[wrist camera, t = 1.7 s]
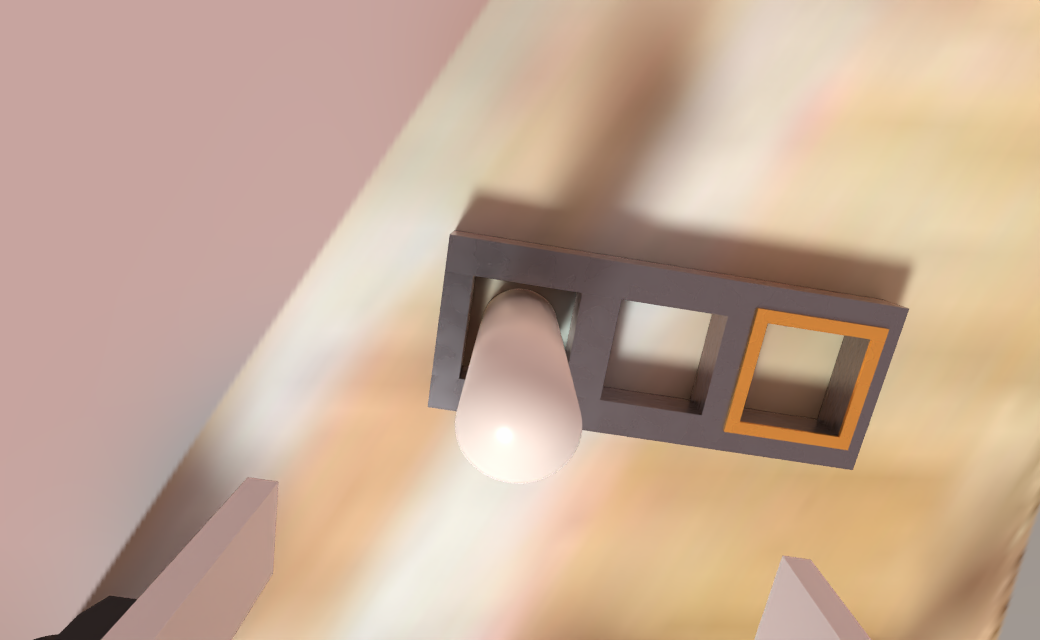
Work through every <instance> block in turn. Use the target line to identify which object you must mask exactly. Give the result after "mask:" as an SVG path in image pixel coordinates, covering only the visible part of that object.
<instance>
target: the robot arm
mask: <svg viewBox="0 0 1040 640" xmlns="http://www.w3.org/2000/svg"><path fill="white" fill-rule="evenodd" d="M277 498H278V482H277V481H270V480H263V479H256V478H249V477H248V478H247V479H246V480H245V481H244V482H243V483H242V484H241V485H240V487H239V488H238V489H237V490H236V491H235V492H234V493H233V494H232V495H231V496H230V498H229V499H228V500H227V501H226V502H225V503H224V504H223V505H222V506H221V508H220V509H219V510H218V511H217V512H216V513H215V514H214V515H213V516H212V518H211V519H210V520H209V521H208V522H207V523H206V524H205V525H204V526H203V527H202V529H201V530H200V531H199V532H198V533H197V534H196V535H195V536H194V537H193V539H192V540H191V541H190V542H189V543H188V544H187V545H186V546H185V547H184V548H183V550H182V551H181V552H180V553H179V554H178V555H177V556H176V557H175V558H174V560H173V561H172V562H171V563H170V564H169V565H168V566H167V567H166V568H165V569H164V571H163V572H162V573H161V574H160V575H159V576H158V577H157V578H156V579H155V581H154V582H153V583H152V584H151V585H150V586H149V587H148V588H147V589H146V590H145V592H144V593H143V594H142V595H141V596H140V597H139V598H138V599H129V598H122V597H115V596H109V597H107V598H105V599H104V600H102V601H100V602H99V603H97V604H96V605H94V606H92V607H91V608H89V609H87V610H86V611H84V612H82V613H81V614H79V615H78V616H77V617H76V618H75V619H74V620H73V621H72V622H71V623H70V624H69V625H68V626H67V627H66V628H65V629H64V630H63V631H62V632H61V633H60V634H58V635H51V636H45V637H41V638H37V639H34V640H232V638H233V637H234V635H235V634H236V632H237V630H238V629H239V627H240V626H241V624H242V622H243V621H244V619H245V617H246V616H247V614H248V613H249V611H250V609H251V608H252V606H253V605H254V603H255V601H256V600H257V598H258V597H259V595H260V593H261V592H262V590H263V589H264V587H265V585H266V584H267V582H268V581H269V579H270V577H271V576H272V574H273V563H274V547H275V531H276V514H277ZM754 640H871V639H870V637H869V636H868V635H867V633H866V632H865V631H864V629H863V628H862V627H861V626H860V624H859V623H858V622H857V620H856V619H855V618H854V616H853V615H852V614H851V612H850V611H849V610H848V608H847V607H846V606H845V604H844V603H843V602H842V600H841V599H840V598H839V596H838V595H837V594H836V592H835V591H834V590H833V588H832V587H831V586H830V584H829V583H828V582H827V581H826V579H825V578H824V577H823V575H822V574H821V573H820V571H819V570H818V569H817V567H816V566H815V565H814V563H813V562H812V561H811V560H809V559H802V558H796V557H789V556H782V559H781V562H780V565H779V568H778V571H777V574H776V577H775V580H774V583H773V586H772V589H771V591H770V594H769V597H768V600H767V603H766V606H765V609H764V612H763V615H762V618H761V621H760V624H759V627H758V630H757V633H756V636H755V639H754Z"/></svg>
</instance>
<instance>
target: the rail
mask: <svg viewBox="0 0 1040 640" xmlns="http://www.w3.org/2000/svg"><path fill="white" fill-rule="evenodd" d="M476 276H478V277H484V278H491V279H497V280H503V281H510V282H516V283H522V284H528V285H535V286H541V287H547V288H554V289H560V290H566V291H573V292H577V294H576V299H575V304H574V309H573V315H572V320H571V325H570V330H569V335H568V341H567V346H566V351H565V353H566V357H567V360H568V364H569V368H570V372H571V376H572V380H573V384H574V388H575V392H576V396H577V400H578V404H579V408H580V412H581V417H582V430H587V431H593V432H600V433H607V434H614V435H620V436H627V437H634V438H641V439H647V440H654V441H661V442H668V443H674V444H681V445H688V446H695V447H701V448H708V449H715V450H721V451H728V452H735V453H742V454H748V455H755V456H762V457H769V458H775V459H782V460H789V461H796V462H802V463H809V464H816V465H823V466H829V467H836V468H843V469H850V470H853V468H854V465H855V462H856V459H857V456H858V453H859V451H860V448H861V445H862V442H863V439H864V436H865V433H866V431H867V428H868V425H869V422H870V419H871V416H872V413H873V411H874V408H875V405H876V402H877V399H878V396H879V393H880V391H881V388H882V385H883V382H884V379H885V376H886V373H887V371H888V368H889V365H890V362H891V359H892V356H893V353H894V351H895V348H896V345H897V342H898V339H899V336H900V333H901V331H902V328H903V325H904V322H905V319H906V316H907V313H908V311H909V308H906V307H903V306H900V305H897V304H894V303H891V302H888V301H885V300H881V299H875V298H869V297H863V296H857V295H851V294H844V293H838V292H832V291H826V290H820V289H814V288H807V287H801V286H795V285H789V284H783V283H776V282H770V281H764V280H758V279H752V278H746V277H739V276H733V275H727V274H721V273H715V272H709V271H702V270H696V269H690V268H684V267H678V266H672V265H665V264H659V263H653V262H647V261H641V260H634V259H628V258H622V257H616V256H610V255H604V254H597V253H591V252H585V251H579V250H573V249H567V248H560V247H554V246H548V245H542V244H536V243H530V242H523V241H517V240H511V239H505V238H499V237H492V236H486V235H480V234H474V233H468V232H462V231H453V232H452V233H451V234H450V237H449V245H448V253H447V261H446V268H445V276H444V284H443V292H442V300H441V307H440V315H439V323H438V331H437V339H436V346H435V354H434V362H433V370H432V378H431V385H430V393H429V401H428V407H432V408H438V409H445V410H452V411H457V408H458V405H459V401H460V397H461V394H462V390H463V386H464V383H465V379H466V375H467V372H468V368H469V366H463V361H464V354H465V347H466V340H467V333H468V326H469V319H470V312H471V305H472V298H473V291H474V284H475V277H476ZM622 299H623V300H629V301H636V302H642V303H648V304H654V305H661V306H667V307H673V308H680V309H686V310H692V311H698V312H705V313H711V314H712V316H711V320H710V324H709V328H708V332H707V336H706V340H705V344H704V348H703V351H702V355H701V359H700V363H699V367H698V371H697V375H696V379H695V382H694V386H693V390H692V394H691V398H690V400H687V399H681V398H674V397H668V396H661V395H654V394H648V393H641V392H635V391H628V390H622V389H615V388H608V387H603V384H604V380H605V375H606V370H607V365H608V361H609V356H610V351H611V347H612V342H613V337H614V333H615V328H616V323H617V319H618V314H619V309H620V304H621V300H622ZM768 323H770V324H776V325H783V326H789V327H795V328H802V329H808V330H814V331H821V332H827V333H833V334H839V335H845V336H844V339H843V342H842V345H841V348H840V351H839V355H838V358H837V361H836V364H835V367H834V370H833V373H832V376H831V379H830V382H829V385H828V388H827V392H826V395H825V398H824V401H823V404H822V407H821V410H820V413H819V416H818V419H812V418H806V417H799V416H793V415H786V414H780V413H773V412H766V411H760V410H753V409H747V408H744V405H745V402H746V398H747V394H748V391H749V387H750V384H751V380H752V377H753V373H754V370H755V366H756V363H757V359H758V356H759V352H760V349H761V345H762V342H763V338H764V335H765V331H766V328H767V324H768Z"/></svg>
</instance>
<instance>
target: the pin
mask: <svg viewBox="0 0 1040 640" xmlns="http://www.w3.org/2000/svg"><path fill="white" fill-rule="evenodd" d="M455 433H456V437H457V441H458V444H459V447H460V449H461V451H462V453H463V454H464V456H465V457H466V458H467V460H468V461H469V462H470V463H471V464H472V465H473V466H474V467H475V468H476V469H477V470H479V471H480V472H482V473H483V474H485V475H486V476H489V477H491V478H493V479H496V480H499V481H502V482H507V483H516V484H518V483H530V482H535V481H539V480H542V479H544V478H547V477H549V476H551V475H552V474H554V473H556V472H557V471H559V470H560V469H561V468H562V467H563V466H564V465H566V464H567V463H568V461H569V460H570V459H571V458H572V456H573V454H574V453H575V451H576V449H577V447H578V445H579V442H580V438H581V433H582V417H581V412H580V408H579V404H578V400H577V396H576V392H575V388H574V384H573V380H572V376H571V372H570V368H569V364H568V360H567V357H566V353H565V349H564V345H563V341H562V337H561V333H560V329H559V325H558V321H557V317H556V314H555V311H554V309H553V307H552V306H551V304H550V303H549V302H548V301H547V300H546V299H545V298H544V297H543V296H541V295H540V294H538V293H536V292H534V291H531V290H527V289H511V290H508V291H505V292H502V293H500V294H499V295H497V296H496V297H495V298H493V299H492V300H491V302H490V303H489V304H488V305H487V307H486V309H485V311H484V313H483V316H482V320H481V324H480V327H479V331H478V335H477V338H476V342H475V346H474V350H473V353H472V357H471V361H470V364H469V368H468V372H467V375H466V379H465V383H464V386H463V390H462V394H461V397H460V401H459V405H458V408H457V413H456V417H455Z"/></svg>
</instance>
